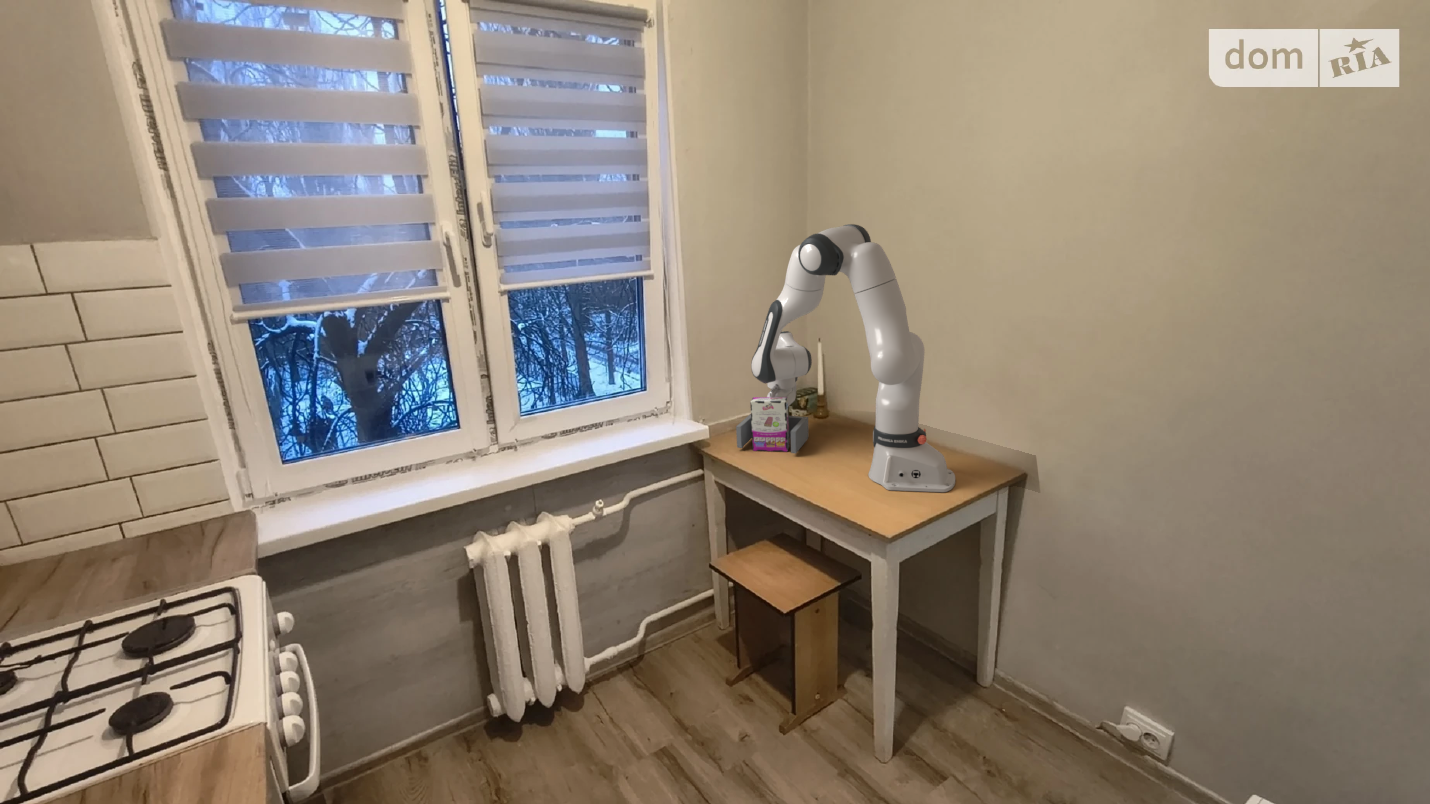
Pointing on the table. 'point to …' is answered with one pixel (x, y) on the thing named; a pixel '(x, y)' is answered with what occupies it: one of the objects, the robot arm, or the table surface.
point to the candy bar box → (770, 424)
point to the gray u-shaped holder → (796, 432)
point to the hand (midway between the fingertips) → (782, 421)
